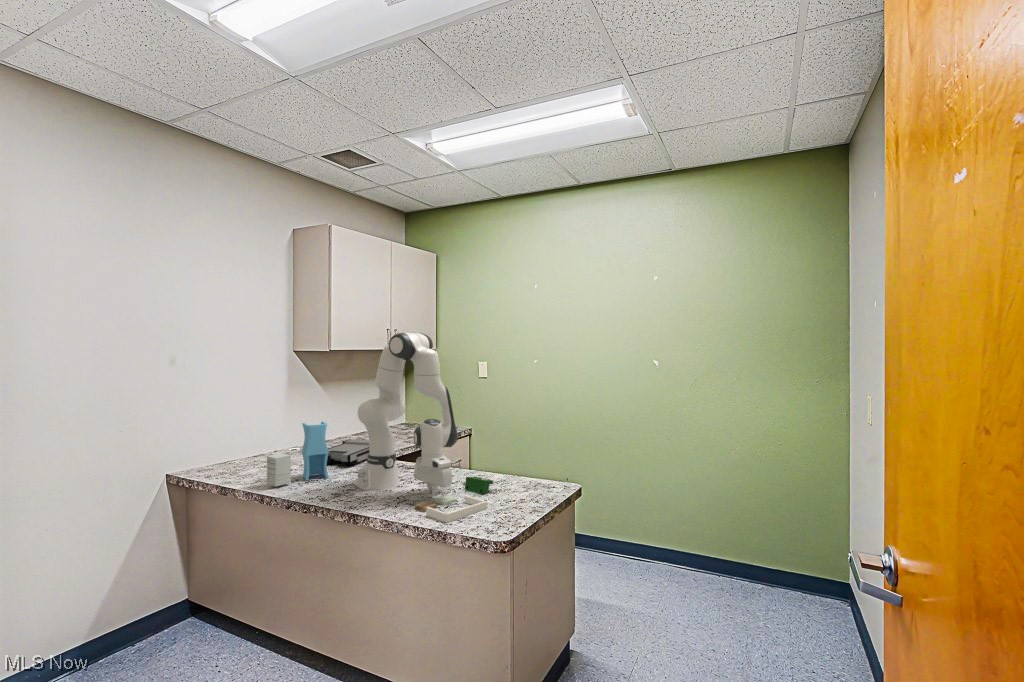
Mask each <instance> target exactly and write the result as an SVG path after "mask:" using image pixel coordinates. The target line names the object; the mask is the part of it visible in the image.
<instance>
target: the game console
mask: <svg viewBox="0 0 1024 682" xmlns="http://www.w3.org/2000/svg"><path fill="white" fill-rule="evenodd" d="M327 448H328V447H327ZM328 451H329V454H328V458H327V466H333V465H335V464H338V463H339V462H340V464H341V465H343V466H345V467H356V466H357V465H360V464H362V463H365V462H367V458H368V457H367V456H368V455H369V439H367V440H366V439H351V438H350V439H346V440H342V442H341V443H340V444H338V445H335V446H331V447H329V448H328ZM366 455H367V456H366ZM366 457H367V458H366Z"/></svg>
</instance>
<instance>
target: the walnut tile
mask: <svg viewBox="0 0 1024 682" xmlns="http://www.w3.org/2000/svg"><path fill="white" fill-rule="evenodd" d="M426 507H430V508H433V509H438V503H436V502H435V503H434V502H431V501H428V500H426V501H423V502H419V503H416V504H414V510H417V511H420V512H423V513H426Z"/></svg>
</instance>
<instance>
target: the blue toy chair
mask: <svg viewBox="0 0 1024 682" xmlns="http://www.w3.org/2000/svg"><path fill="white" fill-rule="evenodd" d="M301 425H302V427H303V433H304V441H303V446H302V449H301V453H302V457H303V473H302V477H303V478H304V479H305V481H309V478H310V476H314V475H315V476H316V475H323V476H324V478H325V479H326V478H329V474H328V469H327V468H328V467H327V466H328V465H327V458H328V454H329V451H328V444H327V441H326V433H327V427H328V423H327V422H325V421H320V424H319V423H317V424H307V423H305V422H302V423H301Z"/></svg>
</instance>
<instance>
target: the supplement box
mask: <svg viewBox="0 0 1024 682" xmlns="http://www.w3.org/2000/svg"><path fill="white" fill-rule="evenodd" d="M291 458H292V457H291V455H290V454H286V453H282V452H281V453H277V454H272V455H267V456H266V484H267V485H269V486H273V487H279V486H283V485H287V484H291V481H292V480H291V471H292V469H291V467H292V465H291V461H292V459H291Z"/></svg>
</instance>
